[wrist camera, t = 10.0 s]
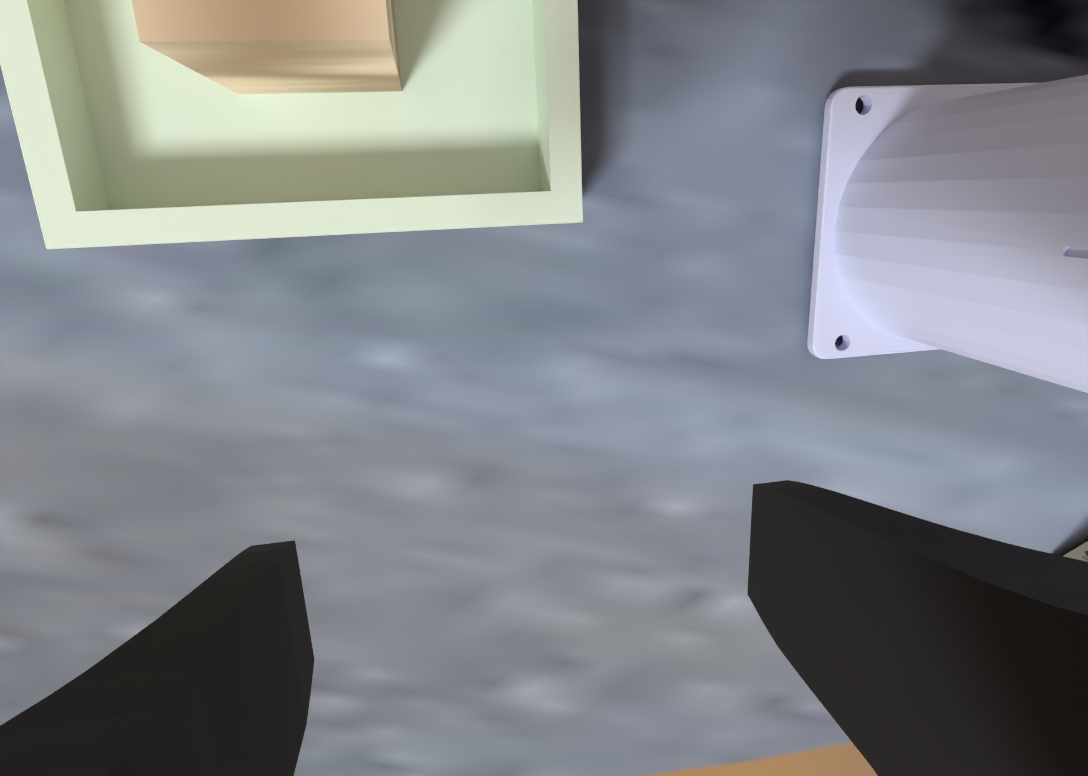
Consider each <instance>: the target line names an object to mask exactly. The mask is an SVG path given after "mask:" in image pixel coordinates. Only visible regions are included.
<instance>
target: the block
mask: <svg viewBox="0 0 1088 776" xmlns="http://www.w3.org/2000/svg"><path fill="white" fill-rule="evenodd" d="M132 5H133V10H134V15H135V21H136V26H137V31H138V36H139V41H140V42H141V43H143V44H145V45H147V46H148V47H150V48H152V49H154V50H156V51H158V52H160V53H162V54H163V55H165V56H167V57H169V58H171V59H173V60H175V61H177V62H178V63H180V64H182V65H184V66H186V67H188V68H190V69H192V70H194V71H195V72H197V73H199V74H201V75H203V76H205V77H207V78H209V79H210V80H212V81H214V82H216V83H218V84H220V85H222V86H224V87H225V88H227V89H229V90H231V91H233V92H235V93H237V94H287V93H340V92H393V91H402V85H401V74H400V63H399V53H398V42H397V31H396V20H395V10H394V0H132Z"/></svg>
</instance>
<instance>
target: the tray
mask: <svg viewBox="0 0 1088 776" xmlns="http://www.w3.org/2000/svg"><path fill="white" fill-rule="evenodd" d="M394 10H395V20H396V31H397V42H398V53H399V63H400V74H401V85H402V91H393V92H340V93H287V94H237V93H235V92H233V91H231V90H229V89H227V88H225V87H224V86H222V85H220V84H218V83H216V82H214V81H212V80H210V79H209V78H207V77H205V76H203V75H201V74H199V73H197V72H195V71H194V70H192V69H190V68H188V67H186V66H184V65H182V64H180V63H178V62H177V61H175V60H173V59H171V58H169V57H167V56H165V55H163V54H162V53H160V52H158V51H156V50H154V49H152V48H150V47H148V46H147V45H145V44H143V43H141V42H140V41H139V36H138V31H137V26H136V21H135V15H134V10H133V5H132V0H0V65H1V69H2V73H3V77H4V81H5V85H6V89H7V93H8V97H9V101H10V105H11V109H12V113H13V117H14V121H15V125H16V129H17V133H18V137H19V141H20V145H21V149H22V153H23V157H24V161H25V165H26V169H27V173H28V177H29V181H30V185H31V189H32V193H33V197H34V201H35V205H36V209H37V213H38V217H39V221H40V225H41V229H42V233H43V237H44V241H45V245H46V249H61V248H81V247H101V246H121V245H140V244H160V243H180V242H200V241H220V240H240V239H259V238H279V237H299V236H319V235H339V234H359V233H379V232H398V231H418V230H438V229H458V228H478V227H498V226H518V225H537V224H557V223H577V222H583V211H582V168H581V126H580V84H579V42H578V0H394Z"/></svg>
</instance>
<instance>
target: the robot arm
mask: <svg viewBox="0 0 1088 776" xmlns="http://www.w3.org/2000/svg"><path fill="white" fill-rule="evenodd" d="M858 98H861V100H862V101H863V105H864V107H863V110H862V112H861V113H860V114H858V112H857V111H856V108H855V104H856V101H857V99H858ZM841 335H842V337H843V341H842V344H841V345H840V346H839V347H837V348H835V341H836V339H837V338H838V337H839V336H841ZM807 344H808V349H809V351H810V353H811V354H813V355H814V356H816V357H818V358H821V359H833V358H844V357H856V356H867V355H879V354H891V353H902V352H914V351H925V350H937V349H943V350H946V351H949V352H953V353H956V354H959V355H963V356H966V357H969V358H973V359H976V360H979V361H983V362H986V363H989V364H993V365H996V366H999V367H1003V368H1006V369H1009V370H1013V371H1016V372H1019V373H1023V374H1026V375H1029V376H1033V377H1036V378H1039V379H1043V380H1046V381H1049V382H1053V383H1056V384H1059V385H1063V386H1066V387H1069V388H1073V389H1076V390H1079V391H1083V392H1086V393H1088V74H1087V75H1082V76H1076V77H1071V78H1066V79H1060V80H1055V81H1049V82H1044V83H1000V84H953V85H905V86H857V87H845V88H841V89H837V90H835V91H834V92H832V93H831V94H830V95H829V97H828V99H827V100H826V104H825V110H824V124H823V138H822V151H821V165H820V179H819V192H818V206H817V219H816V233H815V247H814V260H813V274H812V288H811V301H810V315H809V328H808V342H807ZM748 596H749V597H750V599H751V601H752V603H753V605H754V607H755V608H756V610H757V612H758V614H759V616H760V617H761V619H762V621H763V623H764V625H765V626H766V628H767V629H768V631H769V633H770V634H771V636H772V638H773V639H774V641H775V643H776V644H777V646H778V647H779V649H780V650H781V651H782V653H783V654H784V655H785V657H786V658H787V659H788V661H789V662H790V663H791V665H792V666H793V667H794V668H795V670H796V671H797V672H798V674H799V675H800V676H801V678H802V679H803V680H804V681H805V683H806V684H807V685H808V687H809V688H810V689H811V690H812V692H813V693H814V694H815V695H816V697H817V698H818V699H819V701H820V702H821V703H822V704H823V706H824V707H825V708H826V709H827V711H828V712H829V713H830V714H831V716H832V717H833V718H834V720H835V721H836V722H837V723H838V725H839V726H840V727H841V728H842V730H843V731H844V732H845V733H846V735H847V736H848V737H849V739H850V740H851V741H852V742H853V744H854V745H855V746H856V747H857V749H858V750H859V751H860V752H861V754H862V755H863V756H864V758H865V759H866V760H867V761H868V763H869V764H870V765H871V767H872V768H873V769H874V771H875V772H876V773H877V775H878V776H1088V562H1087V561H1082V560H1078V559H1073V558H1068V557H1064V556H1059V555H1055V554H1050V553H1046V552H1041V551H1036V550H1032V549H1027V548H1023V547H1019V546H1015V545H1011V544H1007V543H1003V542H999V541H996V540H992V539H988V538H985V537H981V536H978V535H974V534H970V533H967V532H963V531H960V530H956V529H953V528H949V527H946V526H942V525H939V524H936V523H932V522H929V521H926V520H923V519H919V518H916V517H913V516H910V515H907V514H903V513H900V512H897V511H894V510H891V509H888V508H885V507H882V506H878V505H875V504H872V503H869V502H866V501H863V500H860V499H857V498H853V497H850V496H847V495H844V494H841V493H837V492H834V491H831V490H827V489H824V488H820V487H817V486H813V485H809V484H805V483H800V482H795V481H788V480H787V481H778V482H770V483H762V484H754V485H753V497H752V517H751V537H750V557H749V576H748ZM313 666H314V655H313V649H312V643H311V636H310V630H309V624H308V618H307V612H306V606H305V600H304V594H303V588H302V582H301V575H300V569H299V563H298V557H297V551H296V545H295V541H287V542H279V543H271V544H263V545H255V546H250V547H249V548H247V549H246V550H244V551H243V552H241V553H240V554H238V555H237V556H236V557H234V558H233V559H232V560H230V561H229V562H228V563H227V564H225V565H224V566H223V567H222V568H220V569H219V570H218V571H217V572H215V573H214V574H213V575H212V576H210V577H209V578H208V579H207V580H206V581H204V582H203V583H202V584H201V585H199V586H198V587H197V588H196V589H194V590H193V591H192V592H191V593H189V594H188V595H187V596H186V597H184V598H183V599H182V600H181V601H179V602H178V603H177V604H176V605H174V606H173V607H172V608H171V609H169V610H168V611H167V612H165V613H164V614H163V615H162V616H160V617H159V618H158V619H157V620H155V621H154V622H153V623H151V624H150V625H149V626H147V627H146V628H144V629H143V630H142V631H140V632H139V633H138V634H136V635H135V636H134V637H132V638H131V639H129V640H128V641H127V642H125V643H124V644H123V645H121V646H120V647H119V648H117V649H116V650H114V651H113V652H112V653H110V654H109V655H108V656H106V657H105V658H104V659H102V660H101V661H99V662H98V663H97V664H95V665H94V666H93V667H91V668H90V669H88V670H87V671H85V672H84V673H82V674H81V675H79V676H78V677H77V678H75V679H74V680H72V681H71V682H69V683H68V684H66V685H65V686H63V687H61V688H60V689H58V690H57V691H55V692H54V693H52V694H51V695H49V696H48V697H46V698H44V699H43V700H41V701H40V702H38V703H36V704H35V705H33V706H32V707H30V708H28V709H27V710H25V711H23V712H22V713H20V714H19V715H17V716H15V717H14V718H12V719H11V720H9V721H7V722H6V723H4V724H2V725H1V726H0V776H293V775H294V771H295V768H296V764H297V760H298V756H299V752H300V748H301V744H302V740H303V736H304V732H305V727H306V723H307V715H308V708H309V700H310V693H311V684H312V675H313Z"/></svg>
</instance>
